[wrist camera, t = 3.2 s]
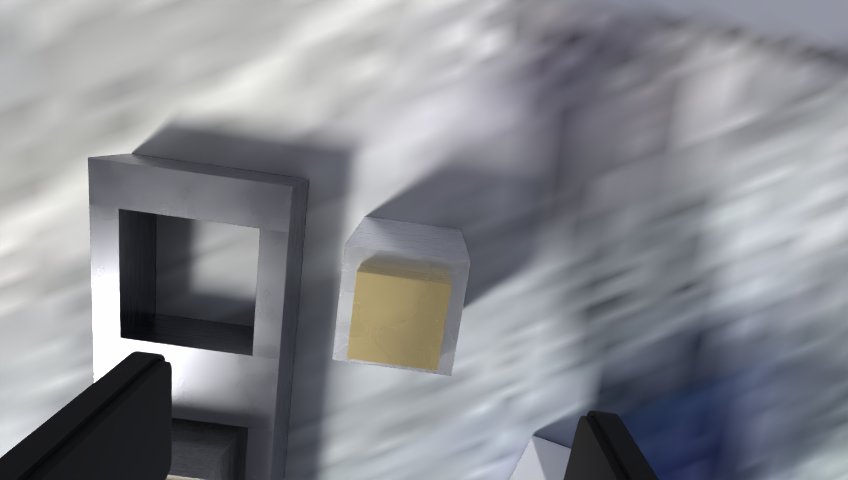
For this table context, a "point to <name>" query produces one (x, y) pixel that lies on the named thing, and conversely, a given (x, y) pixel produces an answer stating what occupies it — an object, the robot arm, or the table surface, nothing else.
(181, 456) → the tan topped grey block
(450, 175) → the table surface
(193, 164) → the dark grey slotted board
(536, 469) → the milk carton
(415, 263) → the grey and tan block
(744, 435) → the table surface
